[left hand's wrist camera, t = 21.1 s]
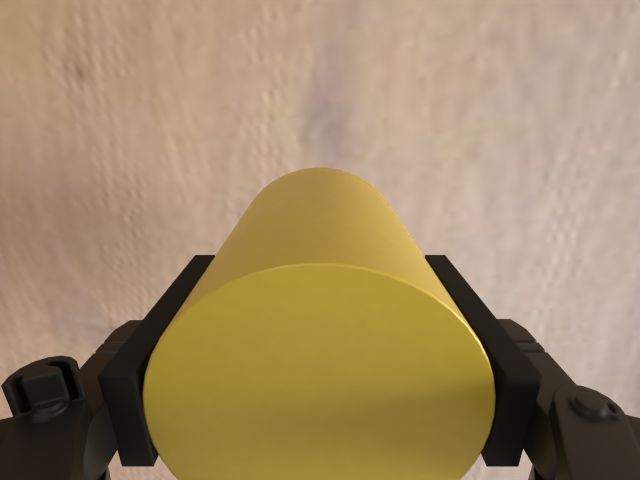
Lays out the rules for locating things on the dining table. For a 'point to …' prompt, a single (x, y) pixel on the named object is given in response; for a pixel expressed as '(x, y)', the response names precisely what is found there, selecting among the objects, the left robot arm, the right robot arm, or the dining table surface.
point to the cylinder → (319, 350)
